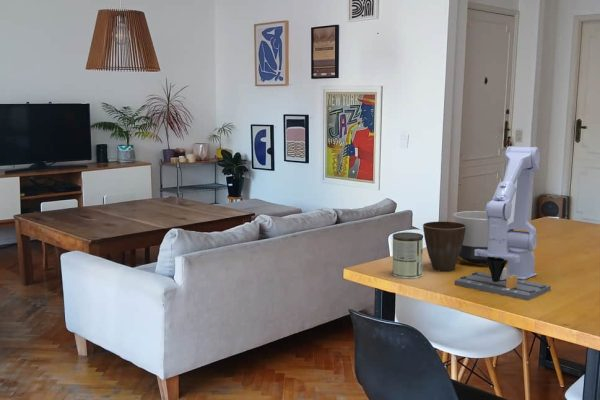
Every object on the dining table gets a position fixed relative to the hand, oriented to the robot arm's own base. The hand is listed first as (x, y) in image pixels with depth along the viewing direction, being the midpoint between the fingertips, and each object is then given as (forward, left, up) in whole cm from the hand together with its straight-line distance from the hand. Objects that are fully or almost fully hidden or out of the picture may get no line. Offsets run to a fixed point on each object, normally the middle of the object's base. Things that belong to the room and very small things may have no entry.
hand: (495, 281), depth 198 cm
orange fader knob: (0, +5, -1) cm, 5 cm away
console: (-3, 0, -3) cm, 4 cm away
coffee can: (+5, -31, -3) cm, 31 cm away
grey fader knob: (-7, -2, -1) cm, 7 cm away
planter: (-30, -24, -3) cm, 39 cm away
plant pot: (-11, -27, -3) cm, 29 cm away
